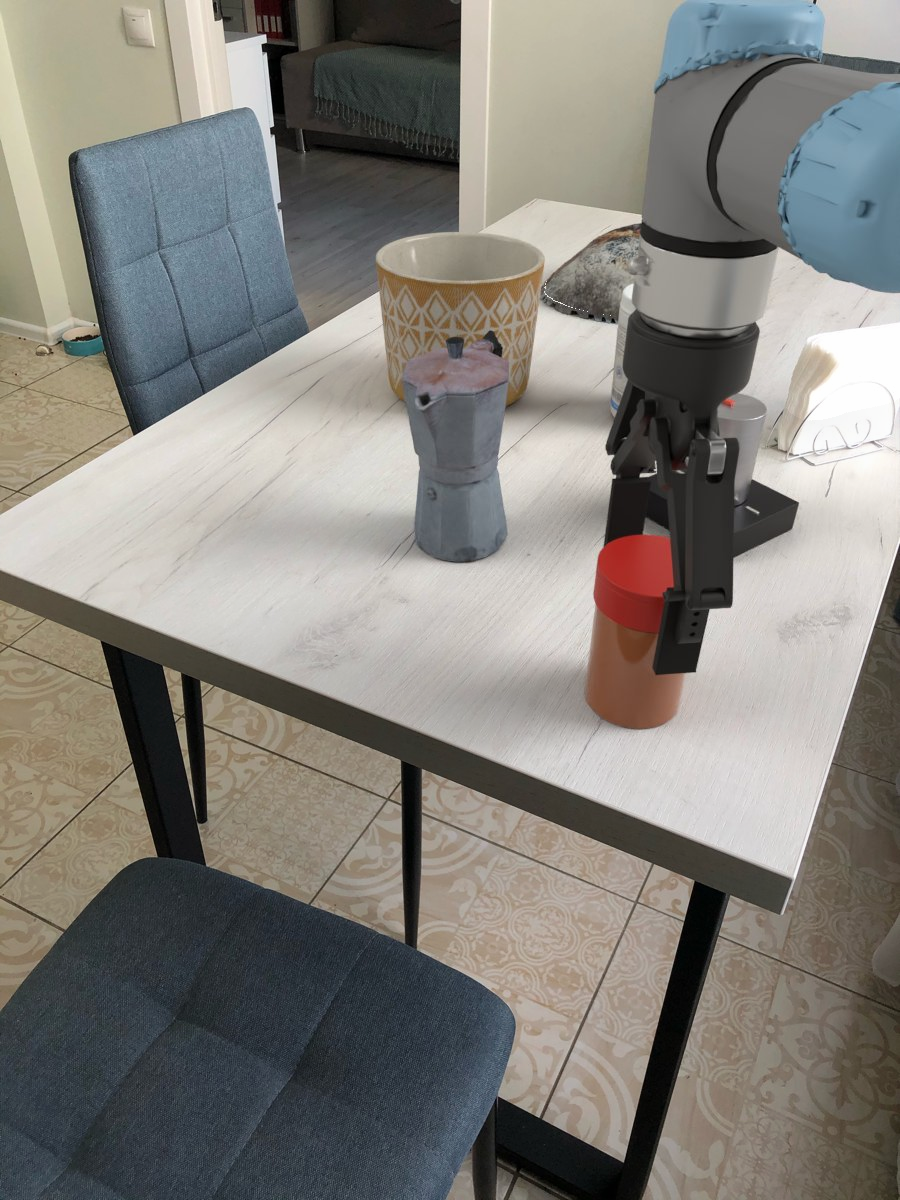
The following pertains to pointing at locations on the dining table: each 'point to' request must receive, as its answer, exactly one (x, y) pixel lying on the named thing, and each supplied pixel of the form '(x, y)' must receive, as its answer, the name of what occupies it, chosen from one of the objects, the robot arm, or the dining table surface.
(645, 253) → the robot arm
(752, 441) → the dial
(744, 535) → the panel
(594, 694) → the jar
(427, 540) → the moka pot
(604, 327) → the dining table surface
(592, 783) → the dining table surface
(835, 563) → the dining table surface
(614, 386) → the supplement tub
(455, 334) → the planter
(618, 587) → the lid
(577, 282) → the bread
